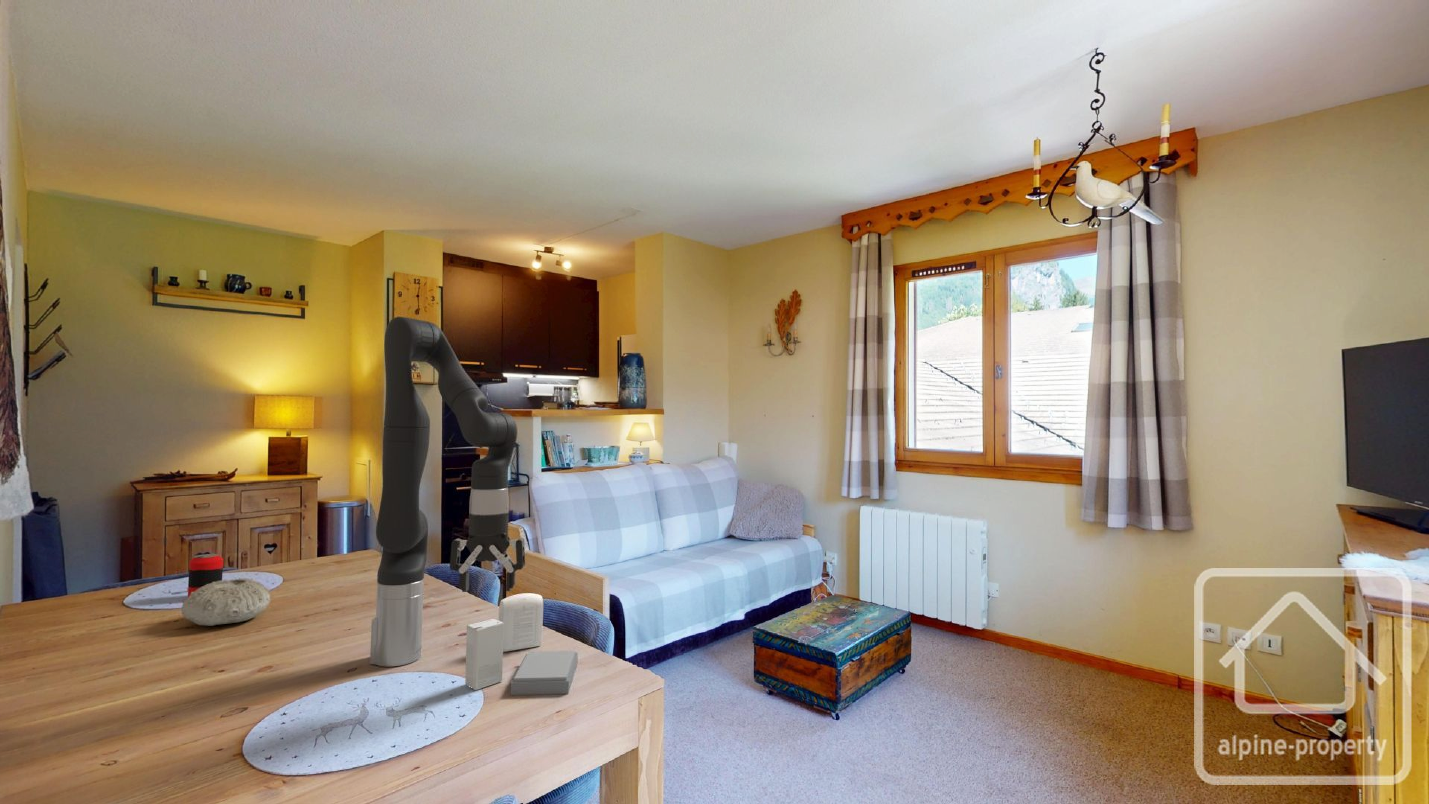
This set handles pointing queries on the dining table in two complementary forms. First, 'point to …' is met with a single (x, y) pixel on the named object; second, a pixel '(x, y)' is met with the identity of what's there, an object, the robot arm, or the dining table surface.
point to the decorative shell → (226, 602)
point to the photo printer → (521, 621)
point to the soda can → (204, 571)
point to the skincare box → (484, 653)
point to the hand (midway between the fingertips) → (487, 590)
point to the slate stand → (545, 673)
